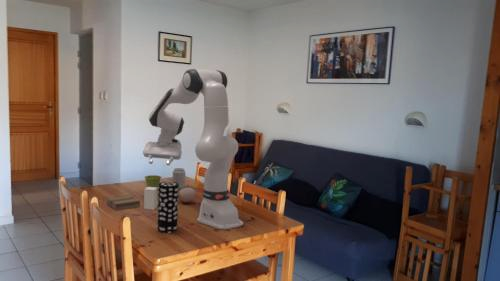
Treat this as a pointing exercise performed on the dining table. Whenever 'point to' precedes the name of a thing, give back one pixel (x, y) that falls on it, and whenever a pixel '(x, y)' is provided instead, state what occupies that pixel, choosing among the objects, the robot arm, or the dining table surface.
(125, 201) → the base
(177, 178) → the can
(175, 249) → the dining table surface
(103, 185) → the dining table surface
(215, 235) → the dining table surface
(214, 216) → the robot arm
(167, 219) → the spotted tube
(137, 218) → the dining table surface
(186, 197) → the decorative fruit
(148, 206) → the block
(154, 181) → the plant pot
